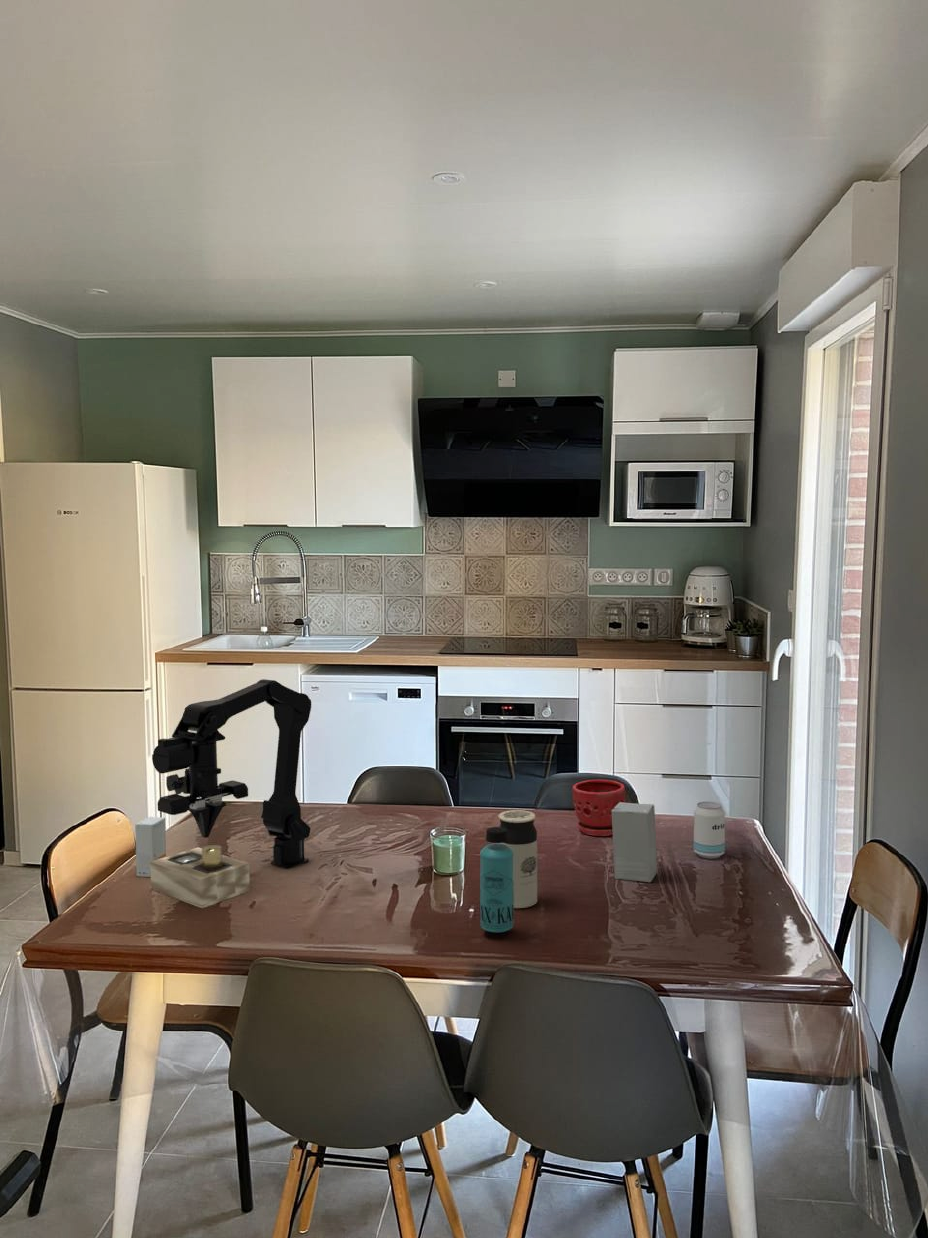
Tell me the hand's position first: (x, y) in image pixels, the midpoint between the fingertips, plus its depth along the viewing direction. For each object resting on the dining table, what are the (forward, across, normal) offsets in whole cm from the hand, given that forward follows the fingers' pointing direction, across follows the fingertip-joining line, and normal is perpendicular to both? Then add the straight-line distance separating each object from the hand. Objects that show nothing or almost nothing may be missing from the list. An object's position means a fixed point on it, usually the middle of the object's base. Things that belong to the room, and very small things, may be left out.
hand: (205, 837), depth 194 cm
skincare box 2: (+12, -64, +66) cm, 92 cm away
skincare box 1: (+12, 0, -21) cm, 24 cm away
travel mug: (+12, -37, +54) cm, 67 cm away
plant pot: (+12, -87, +42) cm, 98 cm away
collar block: (+12, 0, -3) cm, 12 cm away
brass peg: (+8, 0, +2) cm, 8 cm away
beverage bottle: (+12, -22, +61) cm, 66 cm away
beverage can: (+12, -87, +72) cm, 114 cm away
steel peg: (+12, 0, -7) cm, 14 cm away
